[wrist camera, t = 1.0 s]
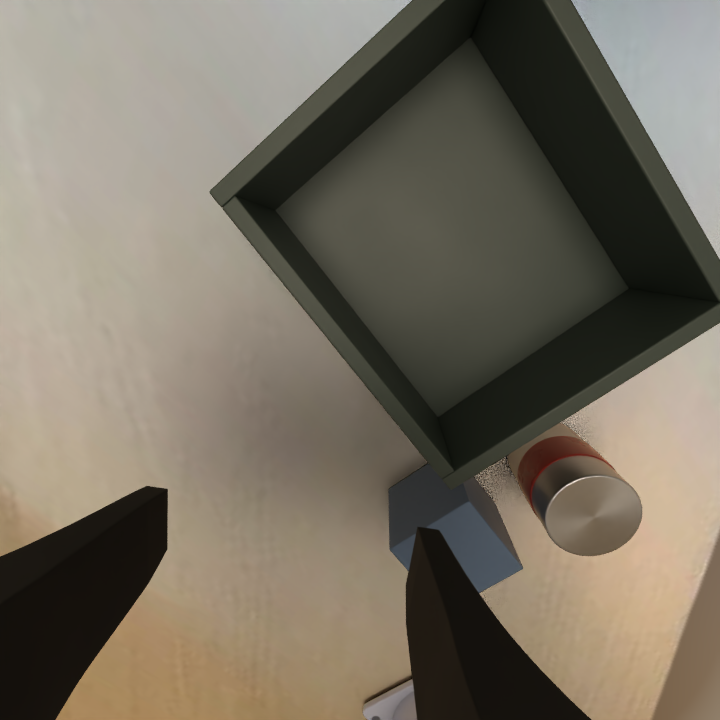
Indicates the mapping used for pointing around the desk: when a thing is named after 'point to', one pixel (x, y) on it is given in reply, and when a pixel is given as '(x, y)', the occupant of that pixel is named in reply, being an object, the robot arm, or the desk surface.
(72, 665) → the robot arm
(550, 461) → the can
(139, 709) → the desk surface
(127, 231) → the desk surface
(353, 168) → the dark olive open box
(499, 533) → the dark blue rectangular block
